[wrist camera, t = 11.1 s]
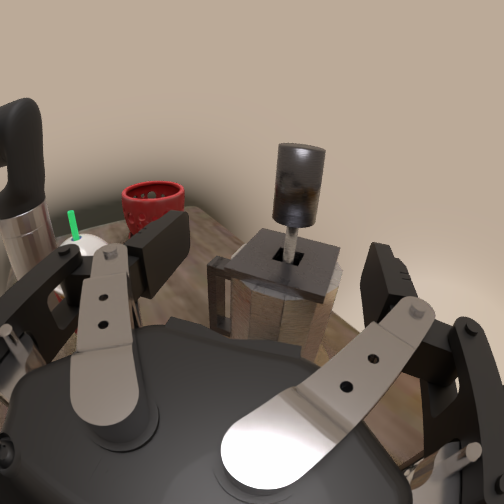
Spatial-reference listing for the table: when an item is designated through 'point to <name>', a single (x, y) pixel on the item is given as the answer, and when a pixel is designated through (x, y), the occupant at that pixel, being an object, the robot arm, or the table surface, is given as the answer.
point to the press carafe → (276, 292)
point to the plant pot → (150, 203)
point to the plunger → (297, 190)
